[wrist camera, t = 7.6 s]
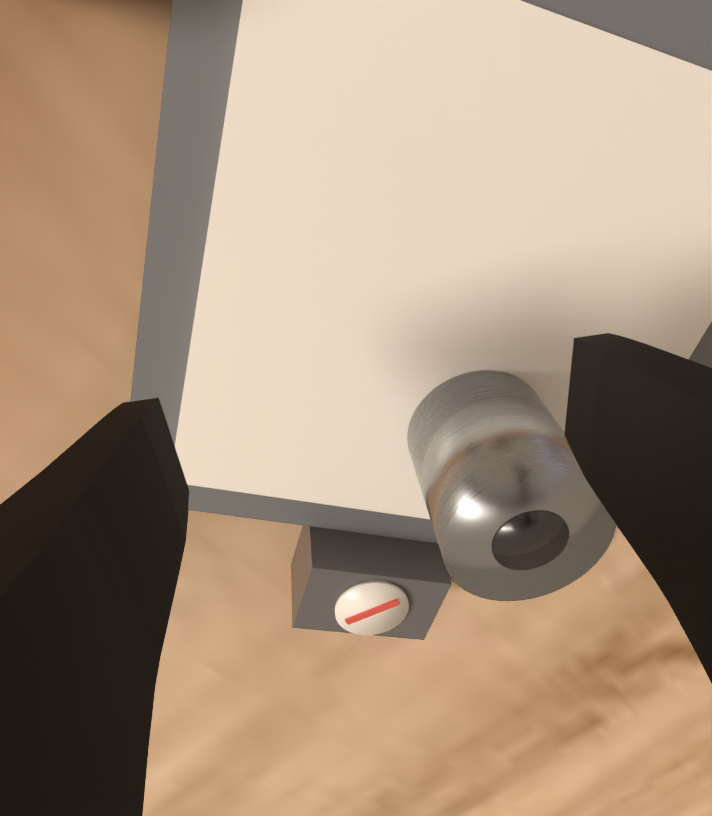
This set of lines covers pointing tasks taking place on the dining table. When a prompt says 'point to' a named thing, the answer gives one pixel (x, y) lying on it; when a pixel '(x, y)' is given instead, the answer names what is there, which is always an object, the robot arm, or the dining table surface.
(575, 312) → the kitchen scale
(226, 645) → the dining table surface
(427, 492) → the steel spacer
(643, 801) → the dining table surface
